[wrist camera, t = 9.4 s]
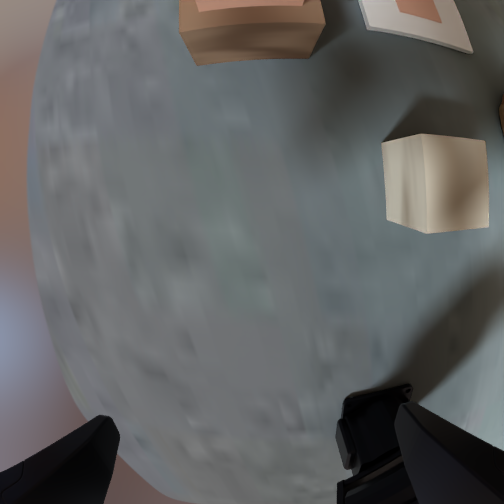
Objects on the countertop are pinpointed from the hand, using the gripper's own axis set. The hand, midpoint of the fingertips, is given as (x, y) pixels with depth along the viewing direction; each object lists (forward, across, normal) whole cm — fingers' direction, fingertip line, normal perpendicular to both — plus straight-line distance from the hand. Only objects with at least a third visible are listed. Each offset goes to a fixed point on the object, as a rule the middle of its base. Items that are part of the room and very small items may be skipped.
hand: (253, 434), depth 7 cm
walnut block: (+12, -1, -18) cm, 22 cm away
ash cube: (+12, -11, -7) cm, 18 cm away
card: (+12, -14, -24) cm, 30 cm away
